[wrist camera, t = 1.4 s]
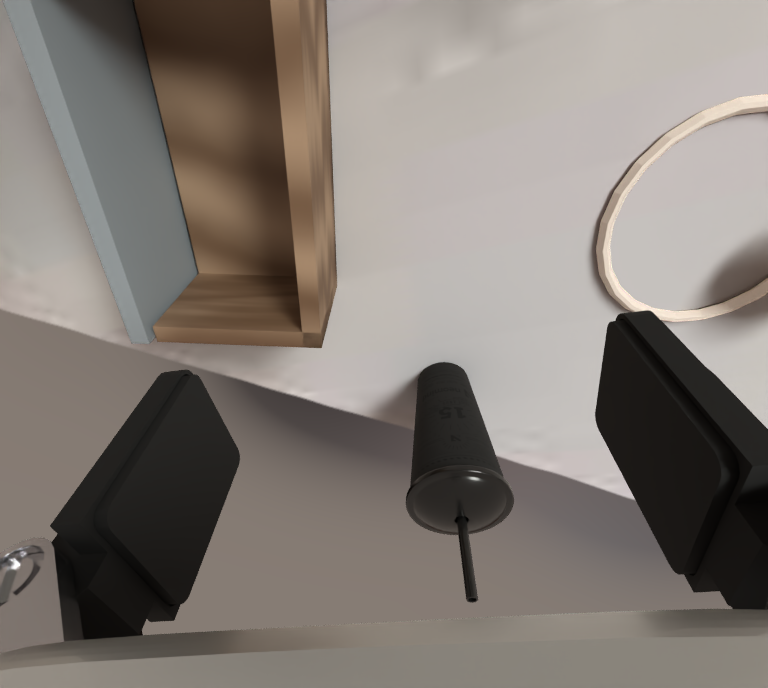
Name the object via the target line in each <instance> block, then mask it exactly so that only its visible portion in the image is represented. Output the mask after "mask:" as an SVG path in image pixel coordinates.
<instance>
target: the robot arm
mask: <svg viewBox="0 0 768 688" xmlns="http://www.w3.org/2000/svg"><path fill="white" fill-rule="evenodd" d="M595 417H596V423H597V427H598V429H599V431H600V433H601V435H602V437H603V439H604V441H605V442H606V444H607V446H608V448H609V450H610V452H611V454H612V456H613V458H614V460H615V462H616V463H617V465H618V467H619V469H620V471H621V473H622V475H623V477H624V479H625V481H626V483H627V484H628V486H629V488H630V490H631V492H632V494H633V496H634V498H635V500H636V502H637V504H638V505H639V507H640V509H641V511H642V513H643V515H644V517H645V519H646V521H647V523H648V524H649V526H650V528H651V530H652V532H653V534H654V536H655V538H656V540H657V542H658V544H659V545H660V547H661V549H662V551H663V553H664V555H665V557H666V559H667V561H668V563H669V564H670V566H671V568H672V569H673V570H674V572H675V573H677V574H684V575H685V577H686V579H687V581H688V583H689V584H690V586H691V588H692V590H693V592H710V591H720V592H721V594H722V596H723V597H724V599H725V601H726V603H727V604H728V605H729V606H731V607H732V609H693V610H657V611H624V612H623V611H622V612H595V613H574V614H550V615H529V616H506V617H485V618H462V619H442V620H421V621H401V622H382V623H363V624H362V623H361V624H341V625H323V626H303V627H284V628H266V629H247V630H230V631H213V632H212V631H211V632H195V633H194V632H193V633H175V634H157V635H143V634H142V628H143V626H144V623H145V621H146V619H148V620H149V621H150V622H156V621H174V620H175V617H176V614H177V612H178V609H179V607H180V604H182V603H184V602H185V601H186V600H187V598H188V597H189V595H190V592H191V590H192V586H193V584H194V581H195V579H196V576H197V574H198V571H199V568H200V566H201V563H202V561H203V558H204V555H205V553H206V550H207V547H208V545H209V542H210V539H211V536H212V534H213V532H214V529H215V526H216V524H217V521H218V518H219V516H220V513H221V510H222V507H223V505H224V502H225V500H226V497H227V494H228V492H229V489H230V487H231V484H232V481H233V478H234V476H235V474H236V471H237V468H238V465H239V461H240V455H239V450H238V448H237V446H236V444H235V443H234V441H233V439H232V437H231V435H230V433H229V431H228V429H227V428H226V426H225V424H224V422H223V420H222V418H221V416H220V414H219V413H218V411H217V409H216V407H215V405H214V403H213V401H212V399H211V398H210V396H209V394H208V392H207V390H206V388H205V386H204V384H203V383H202V381H201V379H200V378H199V376H197V375H193V374H192V373H191V372H190V371H189V370H179V371H171V372H164V373H161V374H160V376H158V378H157V379H156V380H155V382H154V383H153V385H152V386H151V387H150V389H149V390H148V392H147V393H146V394H145V396H144V397H143V398H142V400H141V401H140V402H139V404H138V405H137V407H136V408H135V409H134V411H133V412H132V413H131V415H130V416H129V418H128V419H127V421H126V422H125V423H124V425H123V426H122V427H121V429H120V430H119V431H118V433H117V434H116V436H115V437H114V438H113V440H112V441H111V443H110V444H109V445H108V447H107V448H106V449H105V451H104V452H103V454H102V455H101V456H100V458H99V459H98V461H97V462H96V463H95V465H94V466H93V467H92V469H91V470H90V471H89V473H88V474H87V476H86V477H85V478H84V480H83V481H82V482H81V484H80V485H79V487H78V488H77V489H76V491H75V492H74V494H73V495H72V496H71V498H70V499H69V500H68V502H67V503H66V505H65V506H64V507H63V509H62V510H61V512H60V513H59V514H58V516H57V517H56V518H55V520H54V521H53V523H52V524H51V525H50V526H51V528H52V529H53V530H54V531H56V532H57V533H58V534H57V536H56V537H55V539H54V540H53V541H52V542H51V541H49V540H47V539H45V538H31V539H27V540H24V541H21V542H19V543H17V544H15V545H13V546H11V547H9V548H7V549H6V550H4V551H3V552H1V553H0V688H768V429H767V428H766V427H765V426H764V425H763V424H762V423H761V422H760V421H759V420H758V419H757V418H756V417H755V416H754V415H753V414H752V413H751V412H750V410H749V409H748V408H747V407H746V406H745V405H744V404H743V403H742V402H741V401H740V400H739V399H738V398H737V397H736V396H735V395H734V394H733V393H732V392H731V391H730V390H729V389H728V388H727V387H726V386H725V385H724V384H723V383H722V381H721V380H720V379H719V378H718V377H717V376H716V375H715V374H714V373H712V372H711V371H710V370H709V369H707V368H706V367H705V366H704V365H703V364H702V363H701V362H700V361H699V360H698V359H697V358H696V356H695V355H694V354H693V353H692V352H691V351H690V350H689V349H688V348H687V347H686V346H685V345H684V344H683V343H682V342H681V341H680V340H679V339H678V338H677V337H676V336H675V335H674V334H673V333H672V331H671V330H670V329H669V328H668V327H667V326H666V325H665V324H664V323H663V322H662V321H661V320H660V319H659V318H658V317H657V316H656V315H655V314H654V313H653V312H652V311H650V310H645V311H637V312H629V313H622V314H619V315H618V316H617V318H616V321H613V322H610V323H609V324H608V327H607V333H606V341H605V348H604V355H603V362H602V369H601V376H600V383H599V390H598V397H597V405H596V412H595Z"/></svg>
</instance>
